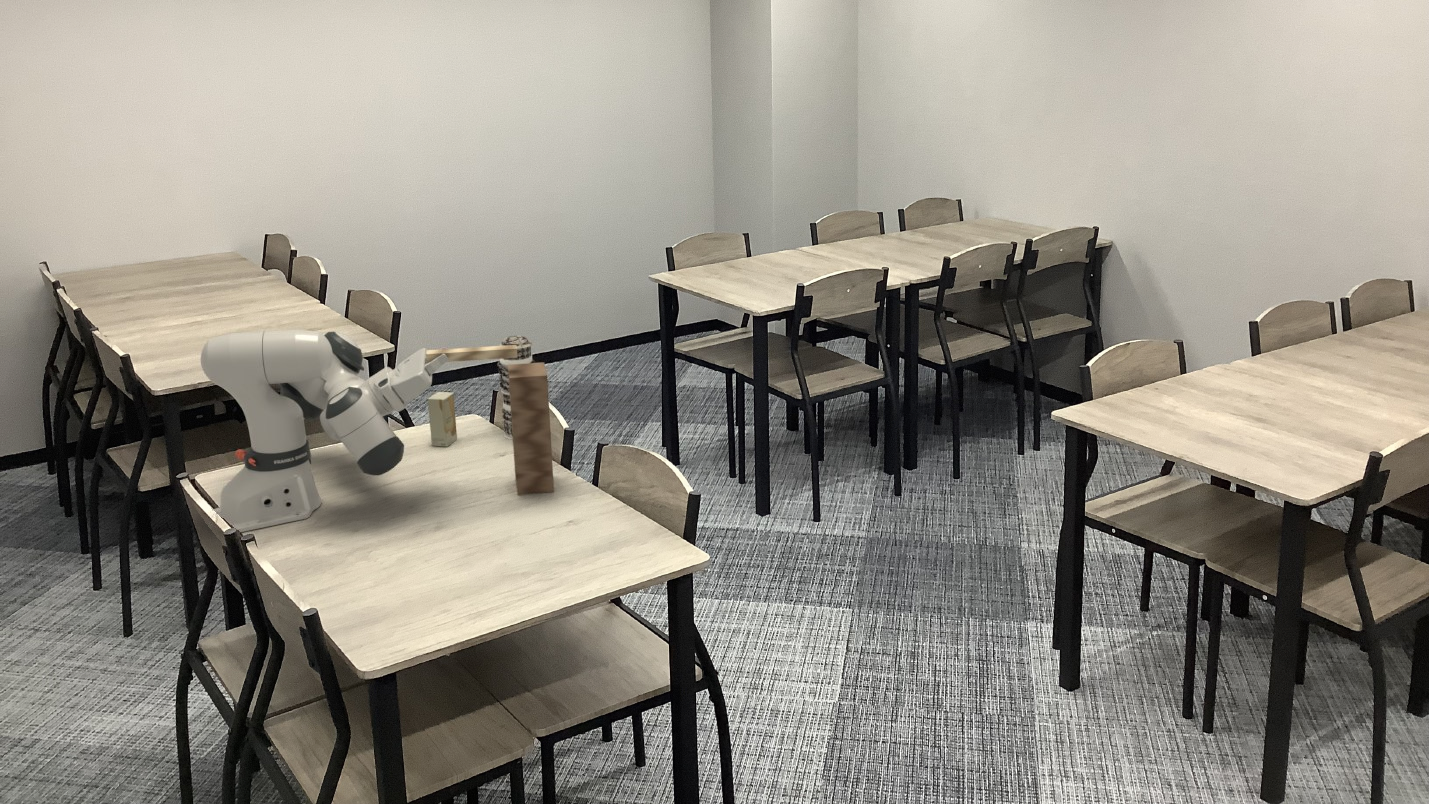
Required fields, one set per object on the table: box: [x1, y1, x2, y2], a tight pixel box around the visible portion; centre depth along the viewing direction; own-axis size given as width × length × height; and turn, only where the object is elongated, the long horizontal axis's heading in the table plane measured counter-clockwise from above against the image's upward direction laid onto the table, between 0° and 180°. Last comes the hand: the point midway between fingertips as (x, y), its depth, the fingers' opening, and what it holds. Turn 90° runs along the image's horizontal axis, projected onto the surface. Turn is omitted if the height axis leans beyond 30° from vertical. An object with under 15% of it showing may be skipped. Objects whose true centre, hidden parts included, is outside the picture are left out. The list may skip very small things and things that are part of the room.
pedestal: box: [508, 361, 555, 496], centre depth 265 cm, size 8×10×27 cm
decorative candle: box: [496, 335, 536, 441], centre depth 297 cm, size 9×9×25 cm
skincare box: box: [427, 391, 458, 448], centre depth 294 cm, size 6×4×12 cm
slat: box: [426, 345, 518, 363], centre depth 257 cm, size 19×3×2 cm, turn 101°
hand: (446, 353), depth 256 cm, fingers closed on slat, 3 cm apart
